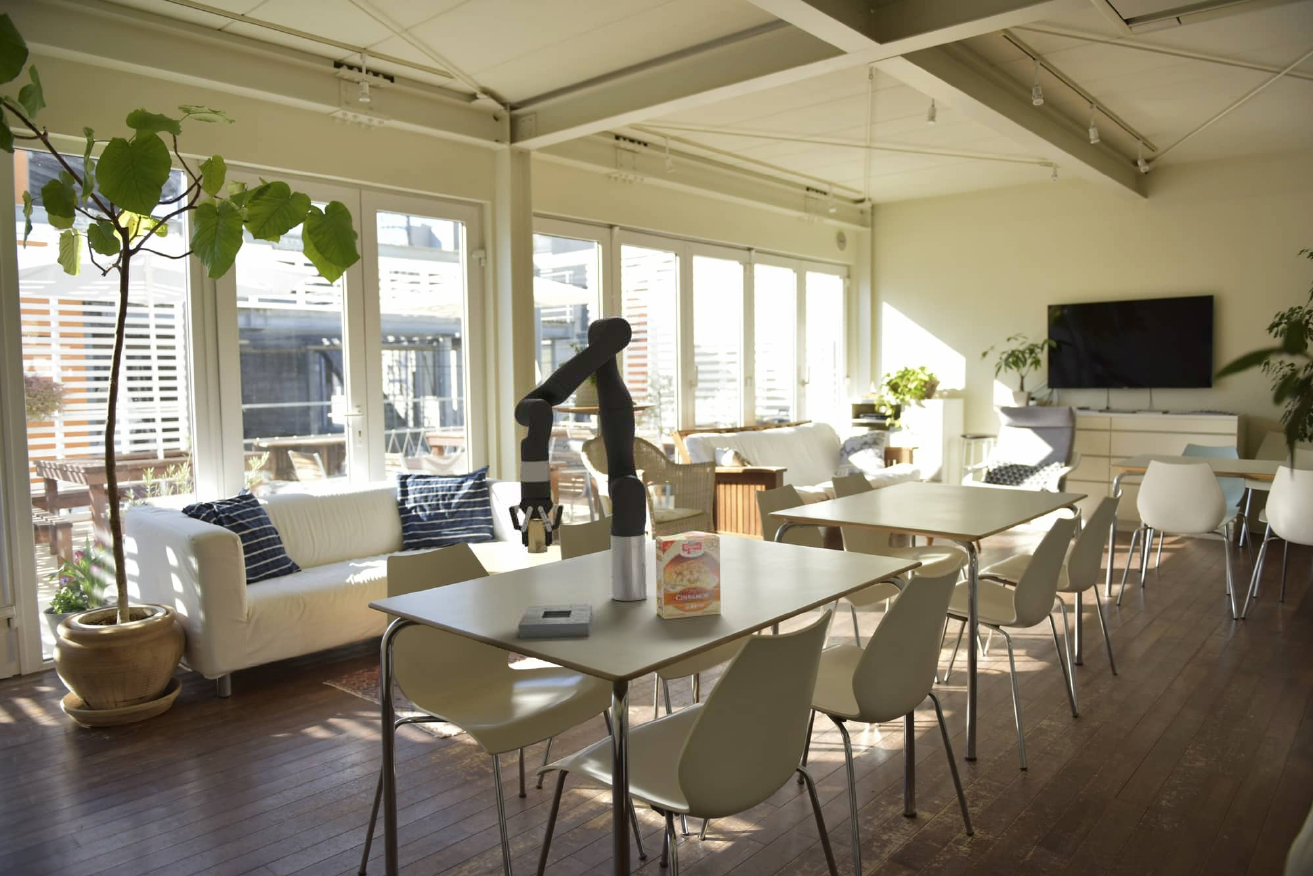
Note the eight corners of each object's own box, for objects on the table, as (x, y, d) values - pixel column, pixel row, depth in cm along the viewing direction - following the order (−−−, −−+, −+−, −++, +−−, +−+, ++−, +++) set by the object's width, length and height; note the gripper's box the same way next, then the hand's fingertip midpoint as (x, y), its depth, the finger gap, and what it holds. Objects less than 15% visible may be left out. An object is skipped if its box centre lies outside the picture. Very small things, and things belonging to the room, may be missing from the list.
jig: (592, 616, 230) (592, 604, 230) (588, 635, 212) (588, 623, 212) (528, 618, 229) (527, 606, 229) (518, 637, 211) (518, 625, 211)
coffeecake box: (664, 620, 225) (662, 540, 223) (656, 613, 231) (654, 536, 230) (722, 614, 229) (720, 536, 228) (712, 607, 236) (710, 532, 234)
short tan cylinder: (548, 549, 234) (547, 518, 234) (546, 553, 229) (545, 521, 229) (529, 549, 234) (528, 518, 234) (526, 553, 229) (525, 521, 229)
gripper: (565, 476, 234) (567, 543, 235) (509, 477, 234) (511, 544, 235) (562, 479, 227) (564, 548, 228) (504, 481, 227) (506, 549, 228)
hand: (537, 545), depth 232 cm, fingers closed on short tan cylinder, 5 cm apart
